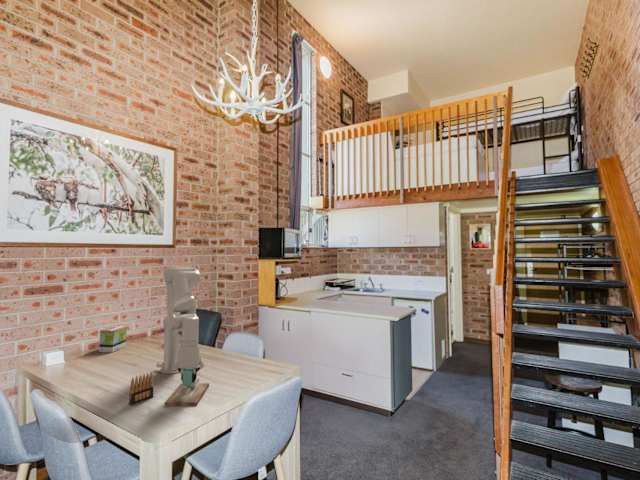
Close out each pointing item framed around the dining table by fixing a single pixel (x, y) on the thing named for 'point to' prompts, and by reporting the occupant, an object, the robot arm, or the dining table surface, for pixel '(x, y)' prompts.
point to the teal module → (187, 377)
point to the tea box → (112, 338)
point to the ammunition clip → (141, 389)
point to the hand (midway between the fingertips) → (188, 381)
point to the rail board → (192, 399)
